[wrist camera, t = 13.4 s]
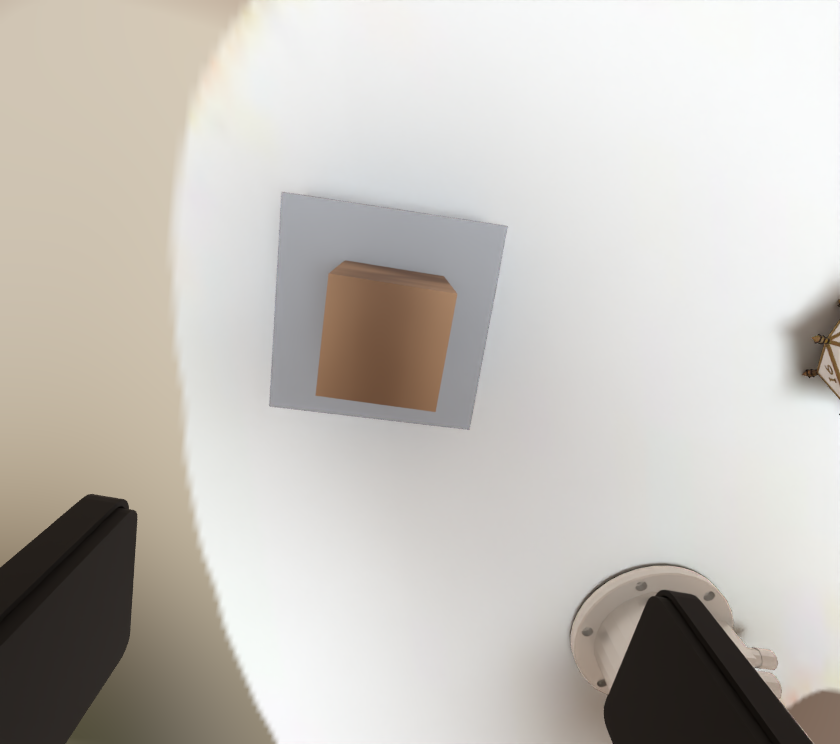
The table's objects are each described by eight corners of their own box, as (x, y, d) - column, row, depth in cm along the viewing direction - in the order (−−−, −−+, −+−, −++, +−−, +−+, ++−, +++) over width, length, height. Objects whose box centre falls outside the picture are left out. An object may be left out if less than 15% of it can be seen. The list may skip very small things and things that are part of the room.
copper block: (443, 276, 25) (457, 293, 19) (427, 369, 26) (435, 412, 21) (345, 260, 24) (328, 273, 19) (333, 356, 26) (315, 395, 20)
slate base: (487, 224, 30) (507, 226, 24) (457, 393, 33) (469, 429, 27) (304, 196, 29) (281, 191, 23) (292, 372, 32) (269, 406, 27)
